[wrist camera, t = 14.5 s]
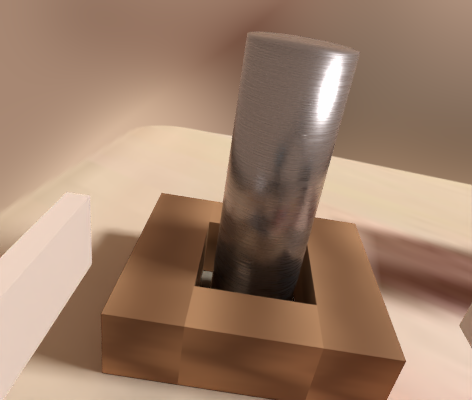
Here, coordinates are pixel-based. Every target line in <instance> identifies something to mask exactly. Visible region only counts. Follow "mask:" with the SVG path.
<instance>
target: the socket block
mask: <svg viewBox="0 0 472 400" xmlns="http://www.w3.org/2000/svg"><path fill="white" fill-rule="evenodd" d="M222 205H223V203H221V202H215V201H208V200H202V199H196V198H190V197H183V196H177V195H171V194H164V193H161V195H160V197H159V199H158V201H157V203H156V205H155V207H154V209H153V211H152V213H151V215H150V217H149V219H148V221H147V223H146V225H145V227H144V229H143V231H142V233H141V235H140V237H139V239H138V241H137V243H136V245H135V247H134V249H133V251H132V253H131V255H130V257H129V259H128V261H127V263H126V265H125V267H124V269H123V271H122V273H121V275H120V277H119V279H118V281H117V283H116V285H115V287H114V289H113V291H112V293H111V295H110V297H109V299H108V301H107V303H106V305H105V307H104V309H103V311H102V313H101V333H102V373H107V374H114V375H120V376H127V377H133V378H140V379H146V380H153V381H159V382H166V383H172V384H179V385H185V386H191V387H198V388H204V389H211V390H217V391H224V392H230V393H237V394H243V395H250V396H256V397H263V398H269V399H275V400H387V398H388V396H389V394H390V392H391V390H392V388H393V386H394V384H395V382H396V380H397V378H398V376H399V374H400V372H401V370H402V368H403V366H404V364H405V362H406V360H405V357H404V355H403V352H402V349H401V347H400V344H399V341H398V338H397V336H396V333H395V330H394V328H393V325H392V322H391V320H390V317H389V314H388V311H387V309H386V306H385V303H384V301H383V298H382V295H381V293H380V290H379V287H378V284H377V282H376V279H375V276H374V274H373V271H372V268H371V266H370V263H369V260H368V257H367V255H366V252H365V249H364V247H363V244H362V241H361V239H360V236H359V233H358V230H357V228H356V225H355V224H353V223H347V222H340V221H334V220H328V219H322V218H314V222H313V225H312V229H311V233H310V236H309V240H308V244H307V247H306V251H305V254H304V258H303V262H302V265H301V269H300V273H299V276H298V280H297V283H296V287H295V291H294V298H295V302H293V301H286V300H280V299H273V298H267V297H261V296H254V295H248V294H242V293H235V292H229V291H223V290H216V289H210V288H203V287H199V286H200V282H201V277H202V273H203V270H207V271H213V267H214V260H215V253H216V247H217V240H218V233H219V226H220V219H221V212H222Z"/></svg>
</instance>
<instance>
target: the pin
mask: <svg viewBox="0 0 472 400" xmlns="http://www.w3.org/2000/svg"><path fill="white" fill-rule="evenodd" d="M359 54H360V52H359V51H357V50H355V49H352V48H349V47H346V46H343V45H339V44H335V43H331V42H327V41H322V40H317V39H313V38H307V37H301V36H295V35H288V34H281V33H271V32H249V33H248V34H247V40H246V48H245V54H244V60H243V68H242V74H241V81H240V88H239V95H238V102H237V109H236V116H235V122H234V129H233V136H232V143H231V150H230V157H229V164H228V171H227V178H226V185H225V191H224V198H223V205H222V212H221V219H220V226H219V233H218V240H217V247H216V253H215V260H214V267H213V274H212V281H211V288H210V289H216V290H223V291H229V292H235V293H242V294H248V295H254V296H261V297H267V298H273V299H280V300H286V301H292V298H293V294H294V291H295V287H296V283H297V280H298V276H299V273H300V269H301V265H302V262H303V258H304V254H305V251H306V247H307V244H308V240H309V236H310V233H311V229H312V225H313V222H314V218H315V214H316V211H317V207H318V204H319V200H320V196H321V193H322V189H323V185H324V182H325V178H326V174H327V171H328V167H329V164H330V160H331V156H332V153H333V149H334V145H335V141H336V138H337V134H338V131H339V127H340V123H341V120H342V116H343V113H344V109H345V105H346V102H347V98H348V94H349V91H350V87H351V84H352V79H353V76H354V73H355V69H356V65H357V61H358V58H359Z"/></svg>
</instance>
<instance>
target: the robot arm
mask: <svg viewBox="0 0 472 400" xmlns="http://www.w3.org/2000/svg"><path fill="white" fill-rule="evenodd" d="M91 265H92V245H91V213H90V196H89V195H83V194H77V193H71V192H66V193H65V194H64V195H63V196H62V197H61V198H60V199H59V200H58V201H57V202H56V203H55V204H54V205H53V206H52V207H51V208H50V209H49V210H48V211H47V212H46V213H45V214H44V215H43V216H42V217H41V218H40V219H39V220H38V221H37V222H36V223H35V224H34V225H33V226H32V227H31V228H30V229H29V230H28V231H27V232H26V233H25V234H23V235H22V236H21V237H20V238H19V239H18V240H17V241H16V242H15V243H14V244H13V245H12V246H11V247H10V248H9V249H8V250H7V251H6V252H5V253H4V254H3V255H2V256H1V257H0V400H4V399H5V397H6V395H7V394H8V392H9V391H10V389H11V388H12V386H13V385H14V383H15V382H16V380H17V379H18V377H19V375H20V374H21V372H22V371H23V369H24V368H25V366H26V365H27V363H28V362H29V360H30V359H31V357H32V355H33V354H34V352H35V351H36V349H37V348H38V346H39V345H40V343H41V342H42V340H43V339H44V337H45V336H46V334H47V332H48V331H49V329H50V328H51V326H52V325H53V323H54V322H55V320H56V319H57V317H58V316H59V314H60V312H61V311H62V309H63V308H64V306H65V305H66V303H67V302H68V300H69V299H70V297H71V296H72V294H73V292H74V291H75V289H76V288H77V286H78V285H79V283H80V282H81V280H82V279H83V277H84V276H85V274H86V273H87V271H88V269H89V268H90V266H91ZM459 326H460V328H461V329H462V331H463V333H464V335H465V337H466V338H467V340H468V342H469V344H470V346H471V348H472V304H471V305H470V307H469V309H468V311H467V313H466V314H465V316H464V318H463V320H462V322H461V323H460V325H459Z"/></svg>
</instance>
